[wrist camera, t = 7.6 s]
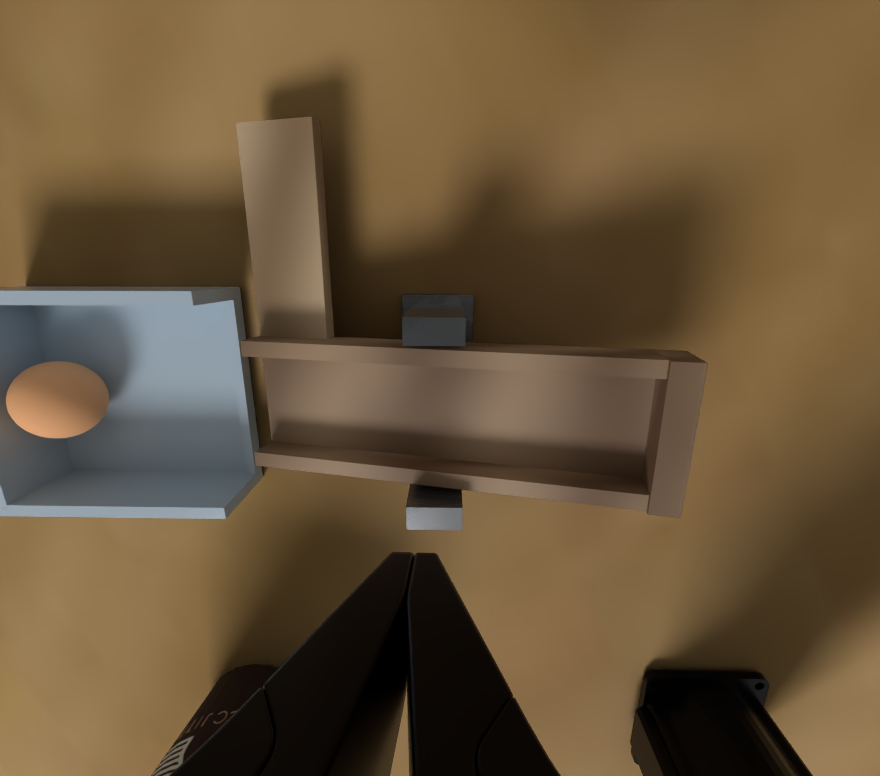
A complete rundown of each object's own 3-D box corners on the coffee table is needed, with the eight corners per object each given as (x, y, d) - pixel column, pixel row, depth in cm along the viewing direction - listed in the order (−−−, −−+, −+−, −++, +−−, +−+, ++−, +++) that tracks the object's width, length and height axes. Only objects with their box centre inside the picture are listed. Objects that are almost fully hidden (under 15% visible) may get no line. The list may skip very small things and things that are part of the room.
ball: (6, 375, 15) (-14, 363, 17) (30, 458, 16) (8, 438, 18) (113, 359, 18) (85, 351, 19) (128, 432, 19) (100, 417, 20)
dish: (239, 286, 18) (191, 291, 15) (262, 477, 21) (225, 518, 17) (24, 286, 19) (-74, 290, 15) (72, 474, 21) (-2, 515, 17)
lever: (717, 100, 13) (761, 57, 11) (658, 477, 17) (680, 518, 14) (261, 135, 17) (206, 109, 14) (292, 440, 20) (252, 467, 18)
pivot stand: (473, 294, 18) (482, 304, 13) (469, 473, 21) (475, 540, 16) (402, 294, 18) (385, 304, 13) (406, 472, 21) (393, 538, 16)
